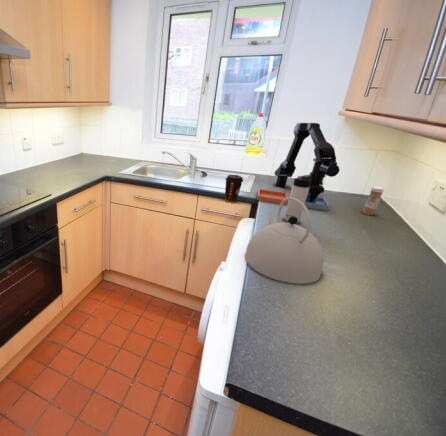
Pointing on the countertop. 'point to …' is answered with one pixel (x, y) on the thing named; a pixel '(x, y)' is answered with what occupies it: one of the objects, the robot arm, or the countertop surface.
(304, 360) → the countertop surface
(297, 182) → the travel mug
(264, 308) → the countertop surface
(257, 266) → the kettle
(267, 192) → the terracotta tray
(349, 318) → the countertop surface
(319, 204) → the blue tray
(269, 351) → the countertop surface
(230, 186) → the coffee cup
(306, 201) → the slate-blue block
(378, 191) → the sprinkles bottle
